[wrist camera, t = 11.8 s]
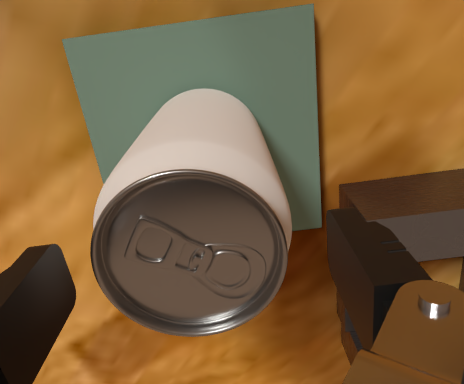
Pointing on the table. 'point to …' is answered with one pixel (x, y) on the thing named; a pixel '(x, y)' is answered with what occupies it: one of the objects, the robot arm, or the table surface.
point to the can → (193, 220)
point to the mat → (210, 87)
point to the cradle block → (409, 222)
